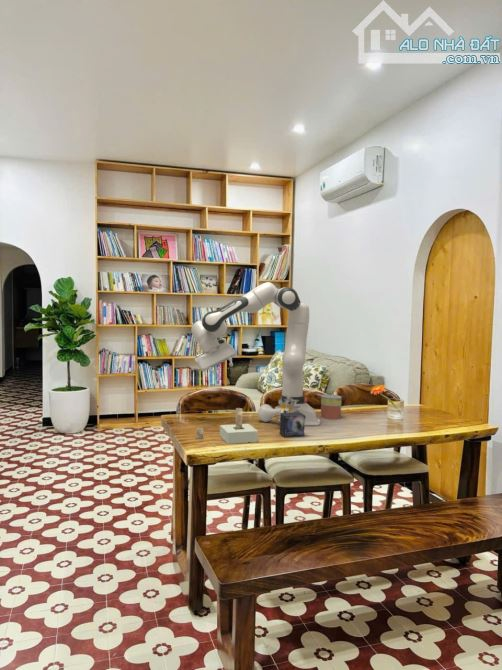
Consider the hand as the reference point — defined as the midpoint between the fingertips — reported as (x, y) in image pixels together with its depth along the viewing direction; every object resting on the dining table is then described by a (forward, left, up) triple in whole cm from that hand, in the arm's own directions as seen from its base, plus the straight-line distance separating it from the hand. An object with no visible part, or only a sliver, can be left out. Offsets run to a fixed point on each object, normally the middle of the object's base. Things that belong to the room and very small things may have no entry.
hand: (224, 370), depth 245 cm
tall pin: (-11, +24, -28) cm, 39 cm away
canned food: (-57, -28, -29) cm, 70 cm away
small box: (-35, +14, -29) cm, 47 cm away
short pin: (+7, +27, -28) cm, 39 cm away
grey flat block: (-11, +24, -28) cm, 39 cm away
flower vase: (-28, -5, -29) cm, 40 cm away
